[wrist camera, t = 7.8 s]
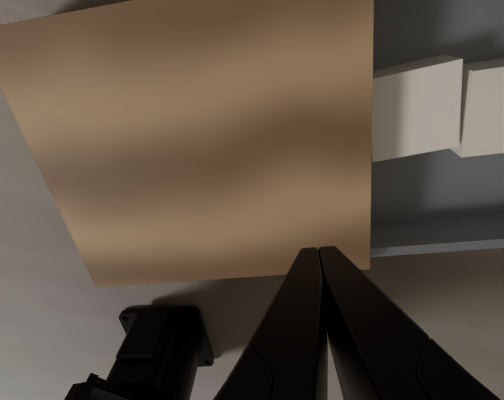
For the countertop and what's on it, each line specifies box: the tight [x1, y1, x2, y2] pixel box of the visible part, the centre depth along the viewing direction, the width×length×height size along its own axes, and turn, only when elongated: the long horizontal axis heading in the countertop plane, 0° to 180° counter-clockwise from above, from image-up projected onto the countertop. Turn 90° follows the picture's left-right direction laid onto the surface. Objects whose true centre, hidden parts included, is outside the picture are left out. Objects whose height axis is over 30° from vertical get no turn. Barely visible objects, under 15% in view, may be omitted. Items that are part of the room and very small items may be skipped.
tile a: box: [371, 55, 463, 162], centre depth 16 cm, size 4×4×2 cm
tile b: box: [449, 58, 504, 158], centre depth 16 cm, size 4×4×2 cm
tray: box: [370, 0, 504, 257], centre depth 16 cm, size 14×12×3 cm
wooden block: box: [0, 0, 374, 287], centre depth 18 cm, size 14×16×4 cm
